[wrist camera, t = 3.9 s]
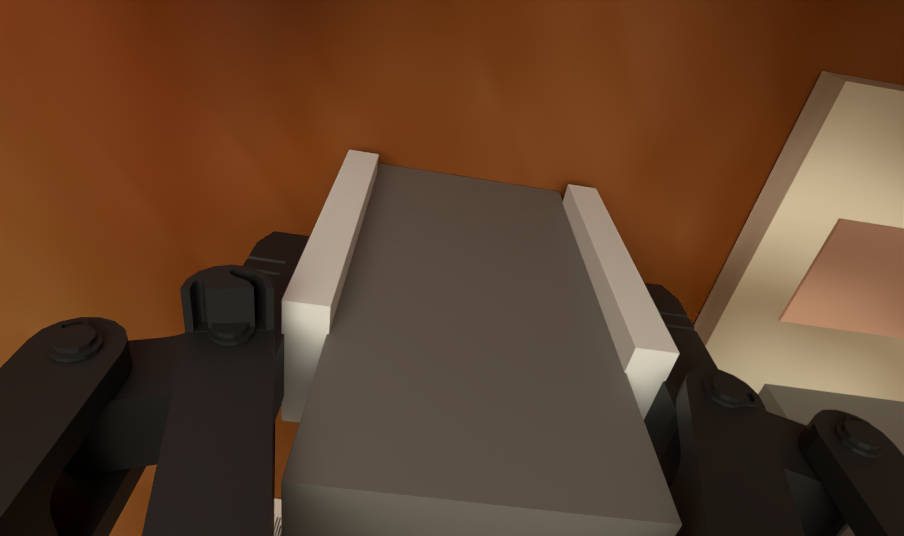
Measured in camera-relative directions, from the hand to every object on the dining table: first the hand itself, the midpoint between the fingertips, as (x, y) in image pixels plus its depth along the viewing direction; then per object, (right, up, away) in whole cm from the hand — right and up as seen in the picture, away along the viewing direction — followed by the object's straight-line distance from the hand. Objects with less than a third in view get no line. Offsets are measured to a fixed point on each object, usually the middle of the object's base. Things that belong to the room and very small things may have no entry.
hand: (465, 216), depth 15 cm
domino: (0, 0, +1) cm, 1 cm away
